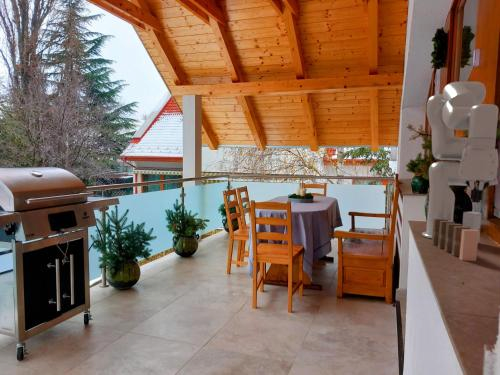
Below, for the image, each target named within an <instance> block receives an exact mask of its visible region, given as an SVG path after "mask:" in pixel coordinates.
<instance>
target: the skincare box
mask: <svg viewBox="0 0 500 375" xmlns="http://www.w3.org/2000/svg"><path fill="white" fill-rule="evenodd" d="M481 221H482V212H476V211H463V214H462V224H461V225H462V227H469V228H470V230H478V231H479V235H478V244H479V243H480V234H481V223H482V222H481Z"/></svg>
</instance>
